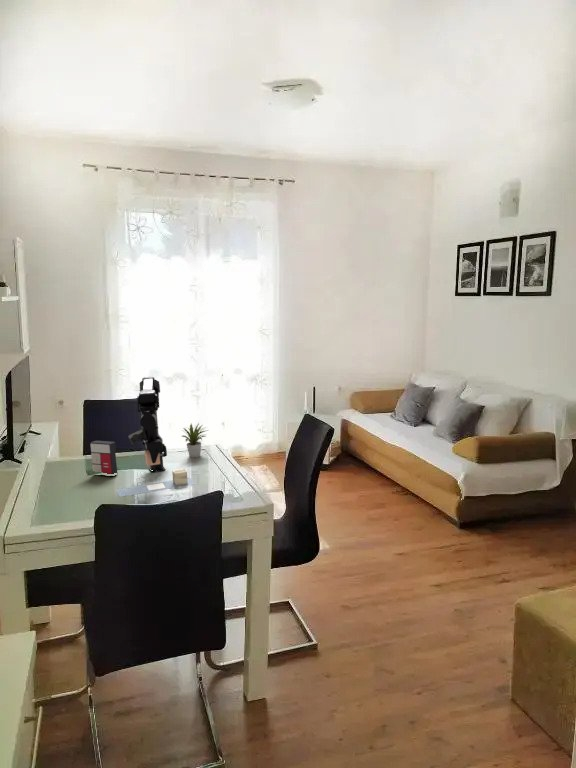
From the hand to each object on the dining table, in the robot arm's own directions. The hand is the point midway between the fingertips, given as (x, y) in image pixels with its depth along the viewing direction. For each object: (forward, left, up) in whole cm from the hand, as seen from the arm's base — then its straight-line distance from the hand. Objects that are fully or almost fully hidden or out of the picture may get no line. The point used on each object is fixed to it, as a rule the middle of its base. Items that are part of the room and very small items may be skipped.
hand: (152, 461), depth 235 cm
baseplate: (0, 0, -12) cm, 12 cm away
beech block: (0, +10, -11) cm, 15 cm away
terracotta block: (0, 0, -1) cm, 1 cm away
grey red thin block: (-30, -17, -12) cm, 36 cm away
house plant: (-38, +25, -12) cm, 47 cm away
